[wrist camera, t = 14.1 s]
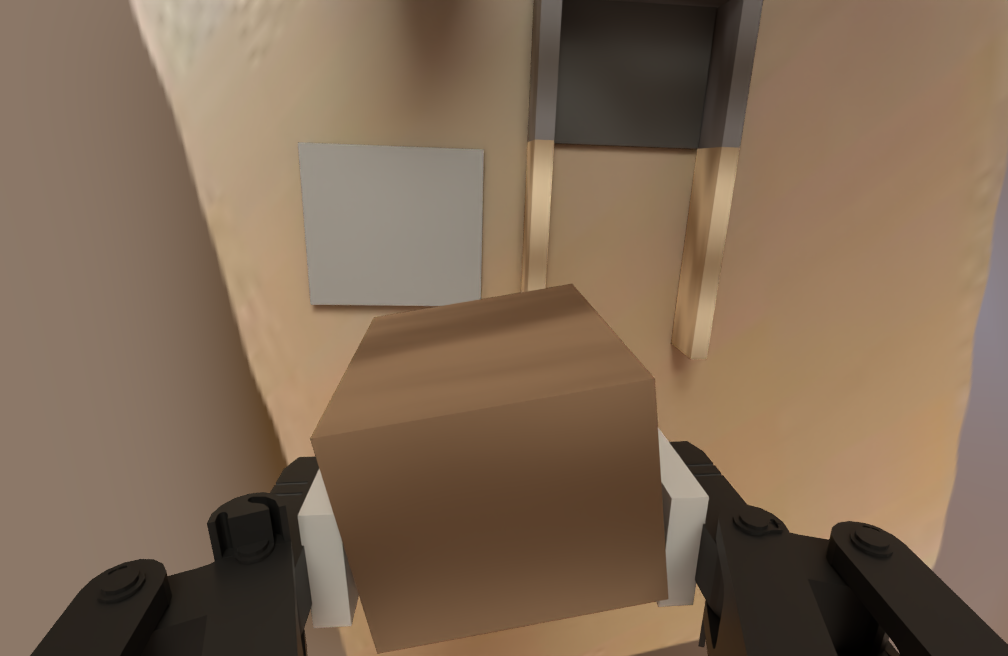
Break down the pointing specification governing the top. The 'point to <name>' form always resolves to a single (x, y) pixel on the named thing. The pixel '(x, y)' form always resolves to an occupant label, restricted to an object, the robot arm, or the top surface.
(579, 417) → the walnut block
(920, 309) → the top surface
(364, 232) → the slate pad
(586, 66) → the channel
